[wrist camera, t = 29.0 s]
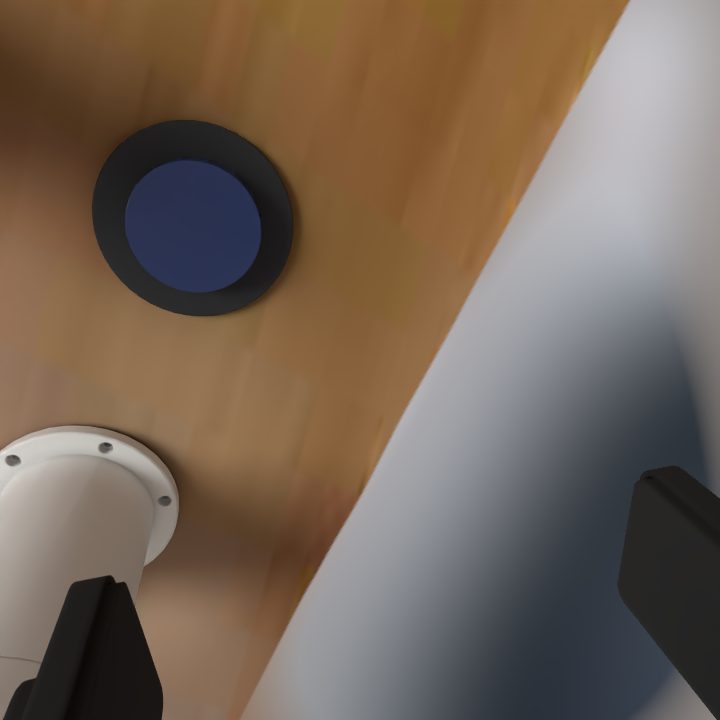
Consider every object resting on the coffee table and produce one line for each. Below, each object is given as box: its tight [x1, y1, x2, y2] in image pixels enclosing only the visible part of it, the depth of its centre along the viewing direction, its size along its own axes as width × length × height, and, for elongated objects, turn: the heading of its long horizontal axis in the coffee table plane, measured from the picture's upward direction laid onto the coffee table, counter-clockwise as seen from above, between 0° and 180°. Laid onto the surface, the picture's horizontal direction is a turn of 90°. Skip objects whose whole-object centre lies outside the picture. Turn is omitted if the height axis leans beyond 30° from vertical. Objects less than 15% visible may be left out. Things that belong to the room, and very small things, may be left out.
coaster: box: [92, 120, 293, 316], centre depth 31 cm, size 11×11×1 cm
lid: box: [125, 157, 262, 293], centre depth 30 cm, size 7×7×2 cm
